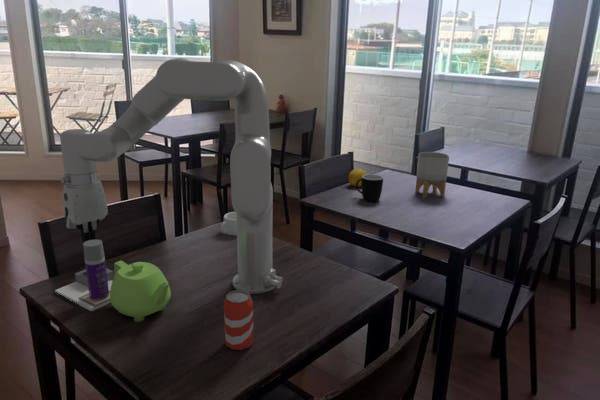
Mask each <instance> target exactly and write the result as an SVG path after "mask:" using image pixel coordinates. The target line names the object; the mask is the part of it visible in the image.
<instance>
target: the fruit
mask: <svg viewBox="0 0 600 400" xmlns="http://www.w3.org/2000/svg"><path fill="white" fill-rule="evenodd" d="M363 175H368V173H367V172H366V171H365V170H364V169H362V168H355V169H352V170H351V171H350V172H349V173H348V182H349V184H350V185H351V186H353V187H355V188H356V182H357V181H358V180H359V179H362V176H363ZM359 187H362V181H359V182H358V188H359Z"/></svg>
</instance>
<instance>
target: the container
mask: <svg viewBox="0 0 600 400" xmlns="http://www.w3.org/2000/svg"><path fill="white" fill-rule="evenodd" d="M82 247H83V258H84V265H85V269H86V274H87V281H88V289H89V296H90V299H91V300H92V301H101V300H104V299H106V298H108V297H109V289H108V281H107V272H106V268H107V266H106V257H105V251H104V245H103V241H102V240H101V239H95V240H89V241H86V242H84V243H83V242H82Z"/></svg>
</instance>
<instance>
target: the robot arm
mask: <svg viewBox="0 0 600 400" xmlns="http://www.w3.org/2000/svg"><path fill="white" fill-rule="evenodd" d="M184 100H198V101H200V100H201V101H202V100H203V101H230V100H233V104H234V123H235V125H234V126H235V140H234V144H233V146H232V149H231V152H230V158H229V167H230V190H231V191H230V193H231V204H232V209H233V210H234V211H233V212H236V213H237V236H236V250H237V251H236V252H237V274H236V275H234V276H233V278H232V286H233V288H234V289H235V290H244V291H246V292H248V293H249V294H250V295H251V294H252V295H257V294H264V293H267V292H270V291H273V290H274V289H275V288H276V289H280V288H281V287H282V284H283V283H282V282H283V280H284V278H283V277H282V276H278V275H277V272H276V271H277V270H276V268H273V266H274V265H273V228H274V227H273V210H274V209H273V206H274V204H273V203H274V201H273V199H274V189H273V185H272V184H273V183H272V181H271V175H272V174H271V159H272V148H271V137H270V111H269V98H268V93H267V91H266V87H265V85H264V82H263V81H262V79H261V78H260V76H259V75H258V74H257V73H256V71H254V70H253V69H252V68H250V67H248V66H247V65H246V64H244V63H242V62H239V61H237V60H232V59H231V60H230V59H229V60H223V61H219V62H218V61H193V60H192V61H191V60H188V59H186V58H183V57H178V58H171V59H168V60H166V61H164V62H163V63H162V64H160V65H159V67H158V68H157V70H156V74H155V76H154V77H152V79H150V80H149V81H148V82H147V83H146V84H145V85H144V86H143V87H142V88H141V89H139V90H138V91H137V92H136V93H135V94H134V95H133V97H132V98H131V103H130V106H129V107H128V108H127V110H125V111H124V112H123V114H122V115H120V116H119V118H118V119H116V120H115V121H114V122H112V124H111V125H109V126H108V127H106V128H104V129H102V130H100V131H97V132H94V133H92V132H91V131H90V130H89V129H84V128H76V129H75V128H73V129H67V130H63V131H62V132H61V133H60V136H59V138H60V139H59V141H60V142H59V143H60V147H61V148H60V149H61V157H62V162H63V163H62V164H63V170H64V173H63V175H64V176H63V177H61V178H60V182H61V183H62V184H64V185H63V191H62V208H63V216H64V220H65V222H66V225H65V226H66V228H67V229H70V230H73V229H75V230H76V229H77V230H79V231H80V236H81V242H82V244H83V243H84V242H86V241H89V240H97V239H96V230H97V226H98V224H99V222H101V221H103V220H104V219H105V218H106V216H107V215H108V214H109V212H108V211H109V210H108V203H107V197H106V193H105V190H104V186H103V183H102V181H101V179H98V173H97V172H98V170H97V163H96V162H98V163H110V162H113V161H115V160H116V159H117V158H119V157H120V156H121V155H123V154H125V152H127V151H128V150H130V148H132V147H133V146H134V145H135V144H136V143H137V142H139V141H140V140H141V139H142V138H143V137H144V136H145V135H146V134H147V133H148V132H149V131H150V130H152V129H153V127H156V125H158V124H159V123H160V122H161V121H162V120H163V119H164V118H166V117H167V116H168V115H169V113H171V112H172V111H173V110H174V109H175V108H176V107H177V106H179V104H181V103H182V102H183V101H184Z"/></svg>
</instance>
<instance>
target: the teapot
mask: <svg viewBox="0 0 600 400" xmlns="http://www.w3.org/2000/svg"><path fill="white" fill-rule="evenodd" d="M113 265H114V266H113V274H114V279H112V281H113V282H112V285H111V290H110V301H111V303H110V304H111V305H112V306H113V308H114V309H115V310H116V311H118V313H119V314H122V315H125V316H128V317H132V318H133V321H134V322H136V323H137V322H139V323H140V322H143V321H144V320H146V319H145V318H146V317H147V316H150V315H152V314H154V313H156V312H160V311H164V310H165V309H166V306H167V304H168V303H169V301H170V300H171V296H172V293H171V292H172V291H171V287H170V283H169V282H168V280H167V279H166V277H165V275H164V274H163V272H162V271H161V269H160V268H159V267H158V266H156V265H155V264H152V263H150V262H145V261H144V262H143V261H137V262H132V263H130V264H128V263H126V262H124V261H123V260H122V259H121V260H119V261H116V262H114V264H113Z"/></svg>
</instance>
